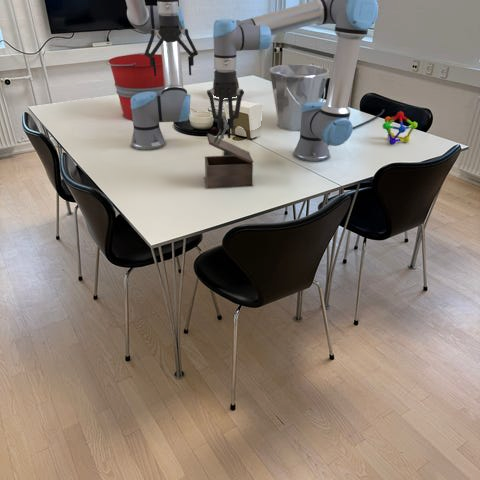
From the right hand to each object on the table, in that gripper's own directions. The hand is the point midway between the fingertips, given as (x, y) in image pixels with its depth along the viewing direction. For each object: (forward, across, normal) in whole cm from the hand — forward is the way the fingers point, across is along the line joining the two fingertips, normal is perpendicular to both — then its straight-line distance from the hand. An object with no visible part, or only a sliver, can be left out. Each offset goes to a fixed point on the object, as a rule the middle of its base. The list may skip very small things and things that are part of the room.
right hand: (225, 137), depth 163 cm
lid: (+5, +1, 0) cm, 5 cm away
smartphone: (+18, +6, +25) cm, 31 cm away
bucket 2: (+18, +45, +66) cm, 82 cm away
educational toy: (+17, +85, +33) cm, 93 cm away
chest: (+18, +1, 0) cm, 18 cm away
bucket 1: (+18, -34, +97) cm, 104 cm away
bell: (+18, +15, +128) cm, 130 cm away
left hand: (-17, -18, +26) cm, 36 cm away
